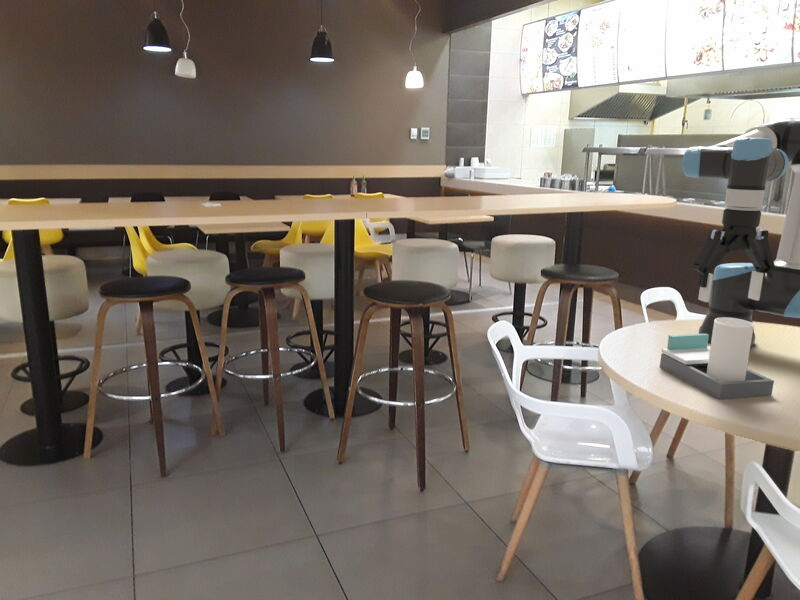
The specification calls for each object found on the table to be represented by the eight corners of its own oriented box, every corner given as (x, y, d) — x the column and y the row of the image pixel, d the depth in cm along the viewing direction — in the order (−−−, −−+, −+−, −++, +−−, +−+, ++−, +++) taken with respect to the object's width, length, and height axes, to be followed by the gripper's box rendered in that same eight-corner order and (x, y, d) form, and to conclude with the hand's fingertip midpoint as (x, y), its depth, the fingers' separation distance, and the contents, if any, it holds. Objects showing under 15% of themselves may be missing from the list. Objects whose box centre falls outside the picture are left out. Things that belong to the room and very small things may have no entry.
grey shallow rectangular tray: (706, 363, 165) (708, 350, 165) (771, 395, 145) (774, 380, 144) (659, 366, 162) (661, 353, 161) (719, 399, 142) (721, 384, 141)
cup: (741, 395, 144) (752, 329, 140) (703, 387, 148) (712, 323, 145) (744, 384, 151) (755, 321, 147) (707, 377, 155) (716, 315, 151)
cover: (708, 349, 164) (710, 333, 163) (734, 361, 156) (737, 344, 154) (661, 352, 161) (663, 335, 160) (685, 364, 152) (687, 346, 151)
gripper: (775, 207, 147) (761, 294, 152) (683, 206, 141) (671, 297, 146) (802, 210, 140) (786, 302, 145) (706, 210, 134) (693, 305, 139)
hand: (728, 300), depth 145 cm, fingers open, 13 cm apart
